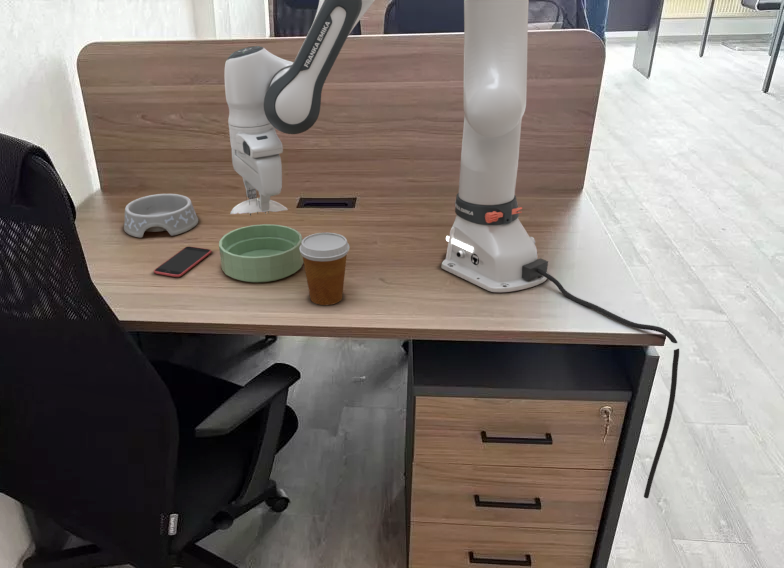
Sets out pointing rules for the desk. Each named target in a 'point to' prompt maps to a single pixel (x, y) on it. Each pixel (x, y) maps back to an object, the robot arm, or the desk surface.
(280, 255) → the bowl
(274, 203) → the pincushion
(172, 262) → the smartphone
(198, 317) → the desk surface
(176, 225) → the dog bowl
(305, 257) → the disposable coffee cup
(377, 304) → the desk surface
